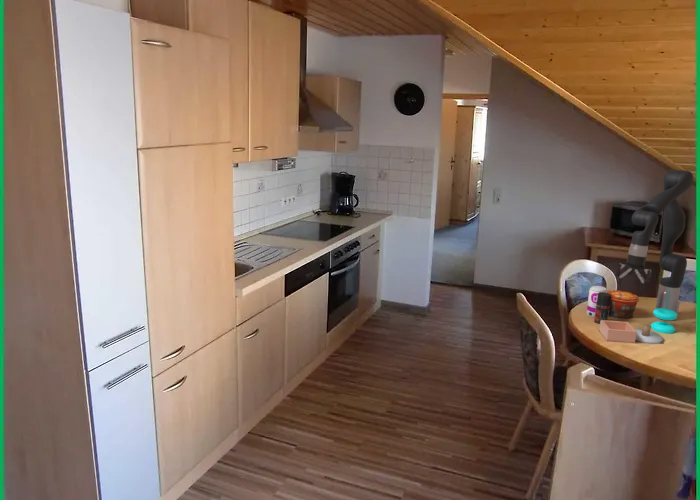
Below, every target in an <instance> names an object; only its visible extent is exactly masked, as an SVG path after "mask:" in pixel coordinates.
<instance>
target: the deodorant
mask: <svg viewBox="0 0 700 500" xmlns="http://www.w3.org/2000/svg"><path fill="white" fill-rule="evenodd" d="M610 302H611V294H609V293H604V292H599V293H598V297H597V304H596V311H595V318H593V322H594V323H595V324H597V325H600V321H601V320H608V321H609V308H610Z"/></svg>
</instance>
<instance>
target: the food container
mask: <svg viewBox="0 0 700 500" xmlns="http://www.w3.org/2000/svg"><path fill="white" fill-rule="evenodd" d="M607 293H609V294H611V302H610V308H609V315H608V317H612V318H616V319H622V320H628V319H631V318H633V316H634V313H635V310H636V307H637V304H638V302H639V301H640V298H639V297H638V295H636V294H633V293H631V292H630V291H629V292H628V291H622V290H615V289H614V290H607Z"/></svg>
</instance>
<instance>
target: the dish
mask: <svg viewBox="0 0 700 500" xmlns="http://www.w3.org/2000/svg"><path fill="white" fill-rule="evenodd" d="M635 329H636V328H634V327H633V326H632V325H631V324H630V323H629V322H628V321H620V320H619V321H618V320H609V319H608V320H601V321H600V324H599V329H598V332H599V333H600V335H601V336H602V337H603V339H604V340H605V341H606V342H612V343H624V344H635V343H636V342H635V339H636V333H637V332H636V330H635Z"/></svg>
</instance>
